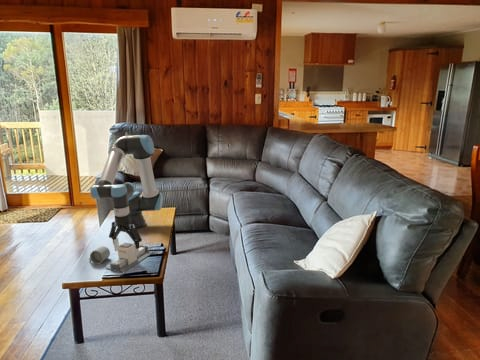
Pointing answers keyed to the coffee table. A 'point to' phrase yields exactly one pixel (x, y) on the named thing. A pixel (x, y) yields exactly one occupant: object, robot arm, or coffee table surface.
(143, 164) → the robot arm
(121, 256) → the module
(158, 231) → the coffee table surface
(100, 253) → the ceramic mug
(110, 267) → the rail base
